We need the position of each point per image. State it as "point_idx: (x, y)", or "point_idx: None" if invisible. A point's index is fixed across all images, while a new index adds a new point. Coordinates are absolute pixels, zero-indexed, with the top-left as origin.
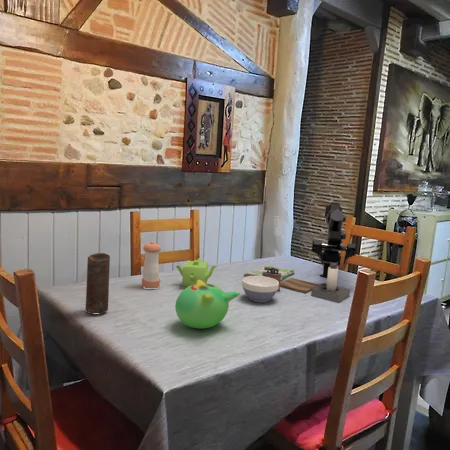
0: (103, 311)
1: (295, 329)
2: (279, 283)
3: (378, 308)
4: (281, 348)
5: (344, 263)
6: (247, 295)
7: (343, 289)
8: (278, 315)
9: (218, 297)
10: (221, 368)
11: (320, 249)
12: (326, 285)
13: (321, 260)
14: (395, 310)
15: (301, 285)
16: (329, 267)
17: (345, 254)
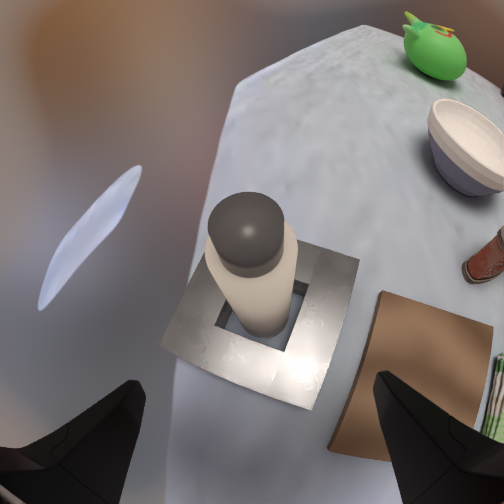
0: (502, 91)
1: (317, 72)
2: (480, 252)
3: (100, 240)
4: (316, 46)
5: (125, 385)
6: (472, 146)
7: (194, 326)
8: (371, 102)
9: (412, 25)
10: (349, 31)
11: (494, 460)
12: (291, 364)
13: (397, 379)
14: (63, 245)
15: (416, 375)
16: (287, 252)
17: (63, 457)
